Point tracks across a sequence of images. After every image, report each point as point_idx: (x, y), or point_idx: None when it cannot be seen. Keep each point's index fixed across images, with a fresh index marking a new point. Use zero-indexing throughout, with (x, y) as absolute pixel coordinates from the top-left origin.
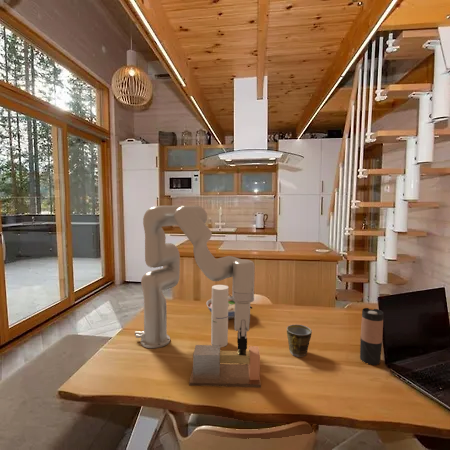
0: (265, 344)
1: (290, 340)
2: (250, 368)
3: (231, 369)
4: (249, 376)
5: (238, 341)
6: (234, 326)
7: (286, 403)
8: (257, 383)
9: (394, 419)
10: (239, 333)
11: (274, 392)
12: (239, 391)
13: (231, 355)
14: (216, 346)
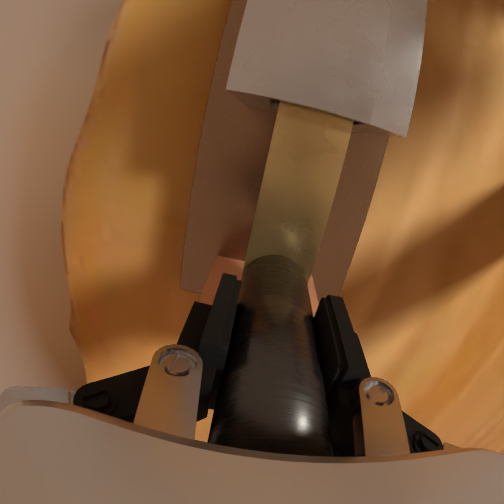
0: (452, 368)
1: None
2: (206, 285)
3: None
4: (240, 261)
5: (207, 322)
6: (229, 467)
7: (106, 326)
8: (187, 278)
9: None
10: (140, 411)
11: (154, 316)
12: (163, 190)
13: (258, 199)
14: (395, 99)
